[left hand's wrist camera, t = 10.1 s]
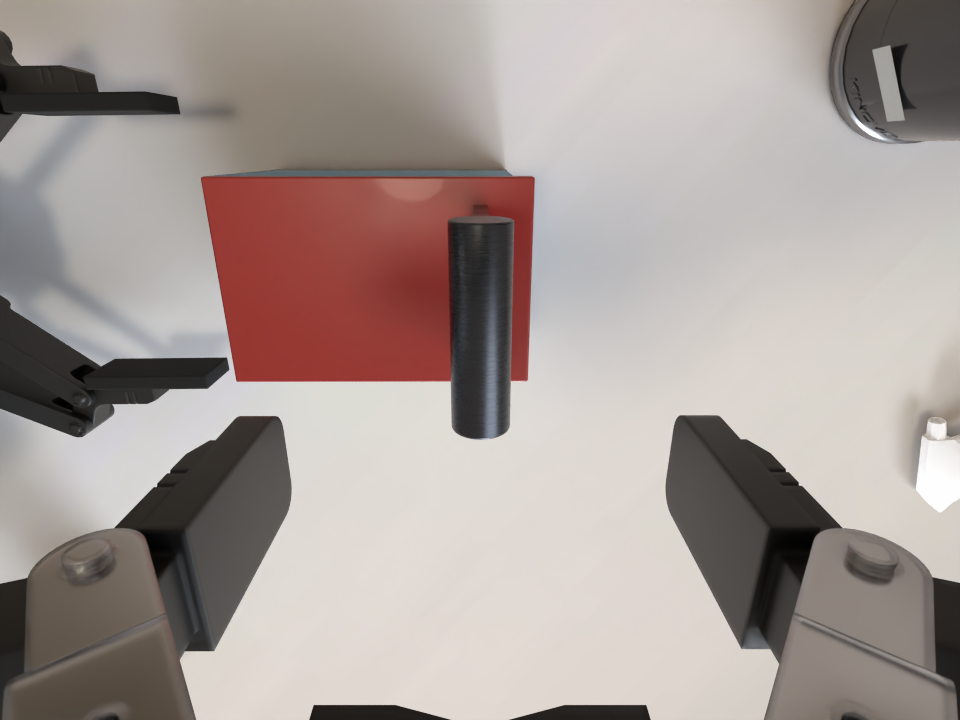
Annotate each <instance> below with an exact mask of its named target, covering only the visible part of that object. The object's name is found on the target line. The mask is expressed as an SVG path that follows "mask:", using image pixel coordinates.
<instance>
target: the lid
mask: <svg viewBox="0 0 960 720" xmlns="http://www.w3.org/2000/svg"><path fill="white" fill-rule="evenodd" d="M201 182H202V187H203V193H204V199H205V204H206V210H207V216H208V221H209V227H210V233H211V239H212V244H213V250H214V256H215V261H216V267H217V273H218V278H219V284H220V290H221V296H222V301H223V307H224V313H225V318H226V324H227V330H228V335H229V341H230V347H231V353H232V358H233V364H234V370H235V375H236V381H238V382H304V381H451V410H452V428H453V430H454V431H455V432H456V433H457V434H459V435H461V436H463V437H466V438H470V439H480V440H482V439H492V438H496V437H499V436H501V435H503V434H504V433H506V432H507V430H508V429H509V426H510V387H511V381H527V380H528V357H529V328H530V299H531V270H532V241H533V212H534V184H535V178H534V177H532V176H205V177H201Z"/></svg>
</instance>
